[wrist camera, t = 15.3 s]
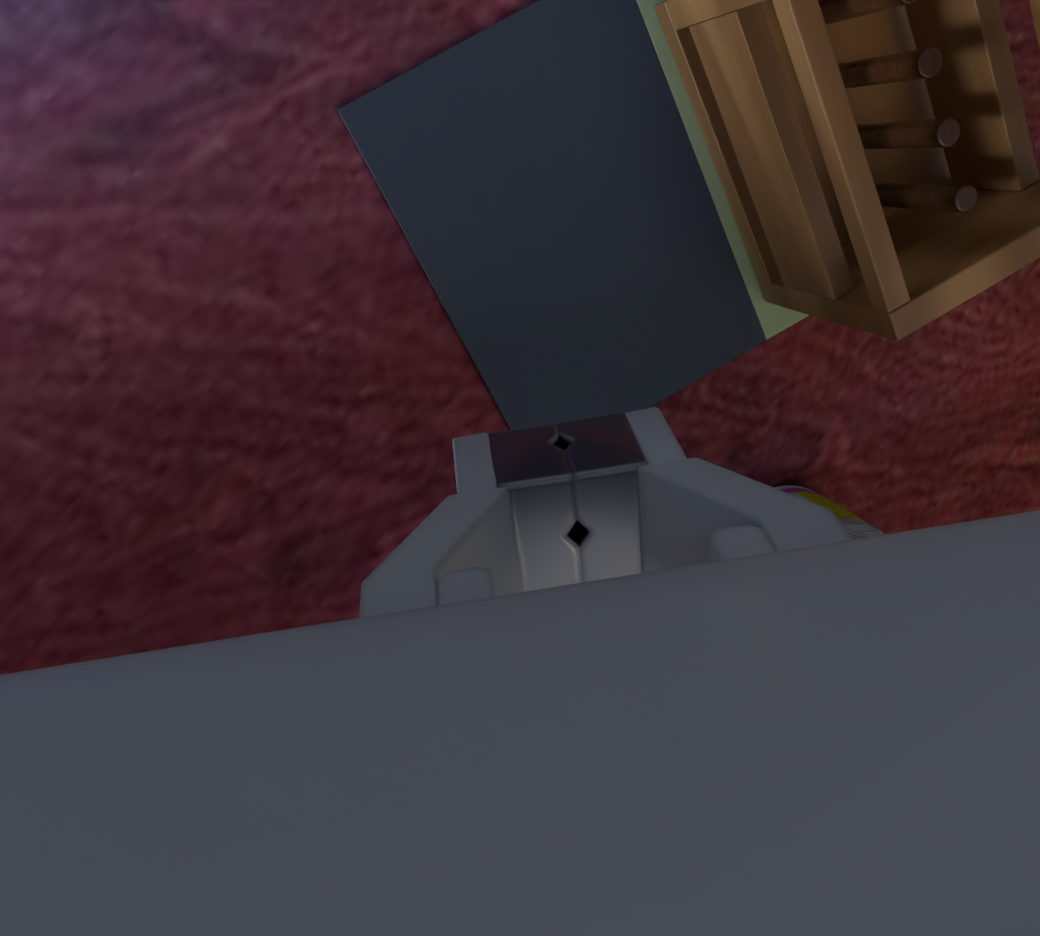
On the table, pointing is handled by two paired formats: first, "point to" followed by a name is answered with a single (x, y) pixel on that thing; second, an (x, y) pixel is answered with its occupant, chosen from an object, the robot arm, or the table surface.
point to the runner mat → (567, 211)
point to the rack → (865, 149)
